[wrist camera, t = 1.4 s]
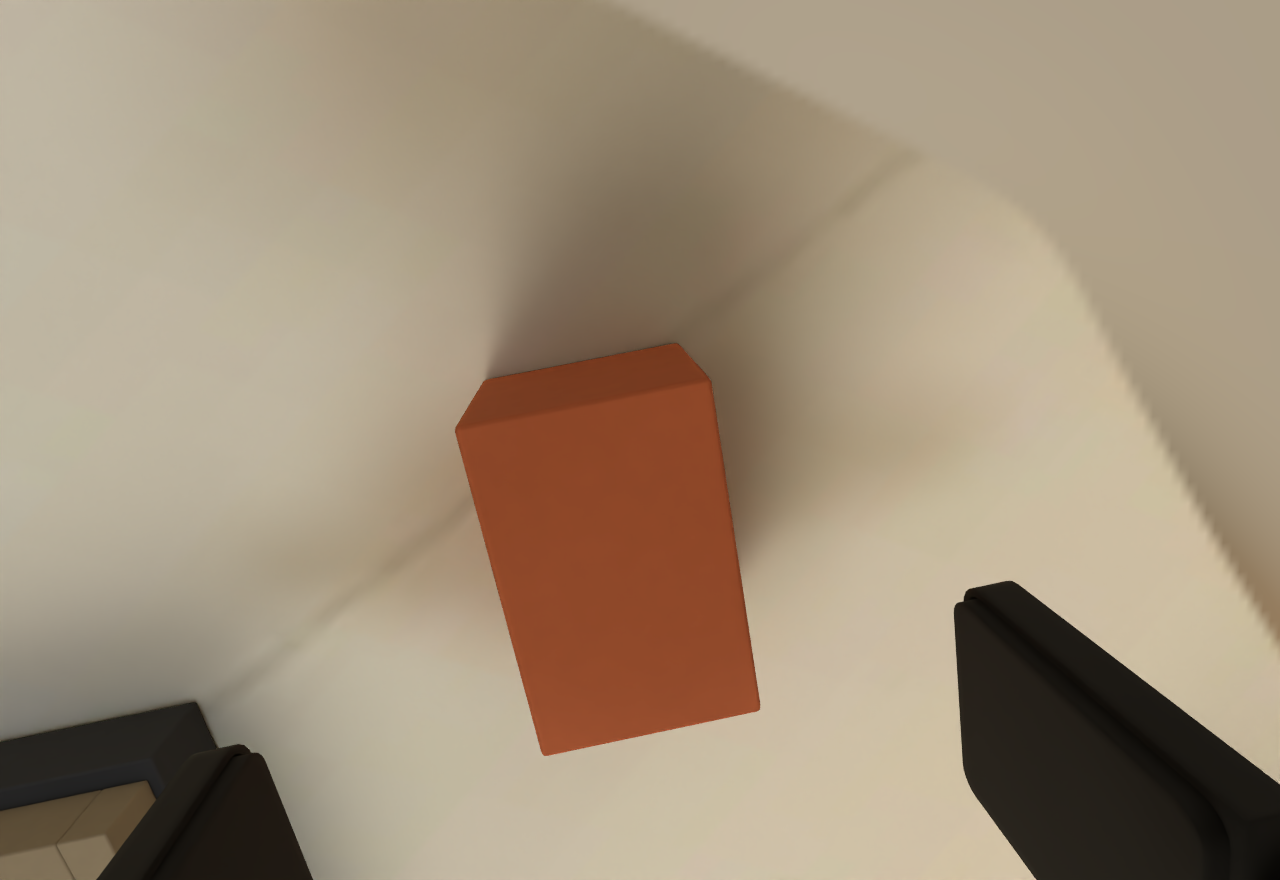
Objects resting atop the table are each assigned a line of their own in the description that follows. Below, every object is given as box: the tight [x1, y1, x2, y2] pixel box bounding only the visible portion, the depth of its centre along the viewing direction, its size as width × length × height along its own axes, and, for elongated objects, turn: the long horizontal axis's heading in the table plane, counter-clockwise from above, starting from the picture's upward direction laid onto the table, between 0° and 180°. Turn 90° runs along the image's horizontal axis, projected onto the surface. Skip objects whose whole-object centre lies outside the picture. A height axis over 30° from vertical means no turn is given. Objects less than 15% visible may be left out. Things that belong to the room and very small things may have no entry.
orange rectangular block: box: [455, 343, 760, 756], centre depth 15 cm, size 7×4×4 cm, turn 10°
